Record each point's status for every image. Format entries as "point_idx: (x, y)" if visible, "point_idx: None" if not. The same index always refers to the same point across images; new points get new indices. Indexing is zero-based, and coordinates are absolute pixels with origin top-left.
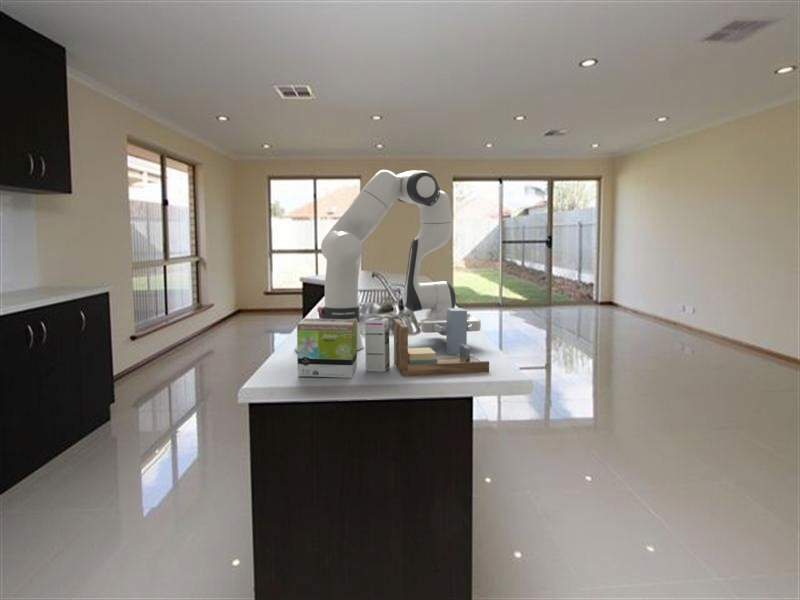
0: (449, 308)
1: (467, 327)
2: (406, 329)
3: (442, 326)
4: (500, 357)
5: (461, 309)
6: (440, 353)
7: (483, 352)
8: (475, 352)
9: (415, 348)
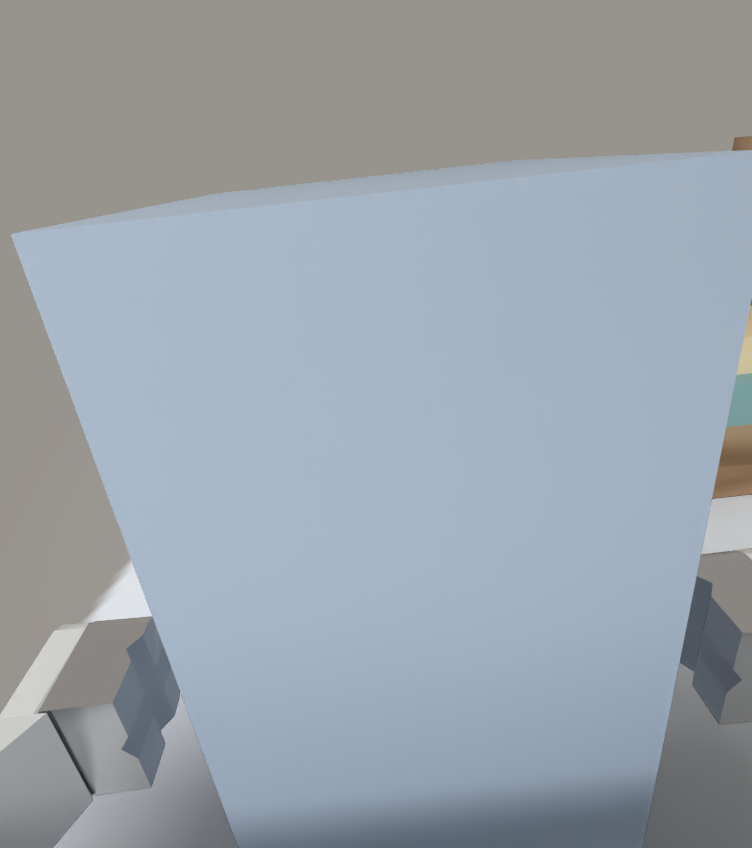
0: (639, 165)
1: (139, 687)
2: (738, 150)
3: (734, 592)
4: (101, 607)
5: (240, 195)
6: (661, 800)
7: (91, 814)
8: (185, 824)
9: (745, 333)
